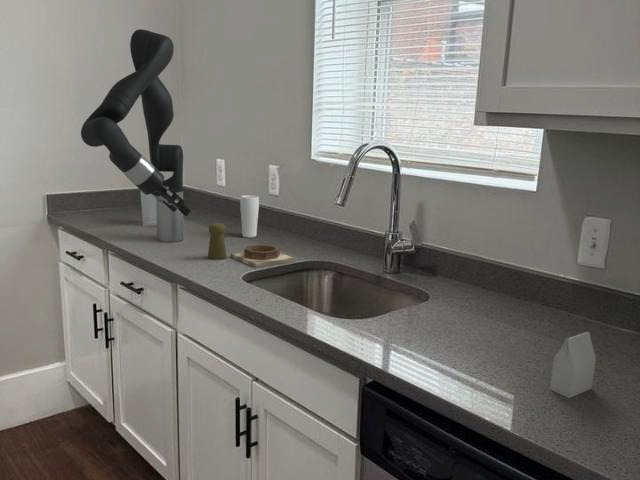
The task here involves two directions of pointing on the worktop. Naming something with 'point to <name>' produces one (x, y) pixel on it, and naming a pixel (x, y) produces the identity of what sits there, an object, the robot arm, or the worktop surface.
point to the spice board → (262, 262)
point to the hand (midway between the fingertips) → (182, 211)
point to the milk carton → (574, 366)
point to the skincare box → (148, 209)
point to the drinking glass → (249, 215)
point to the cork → (217, 242)
